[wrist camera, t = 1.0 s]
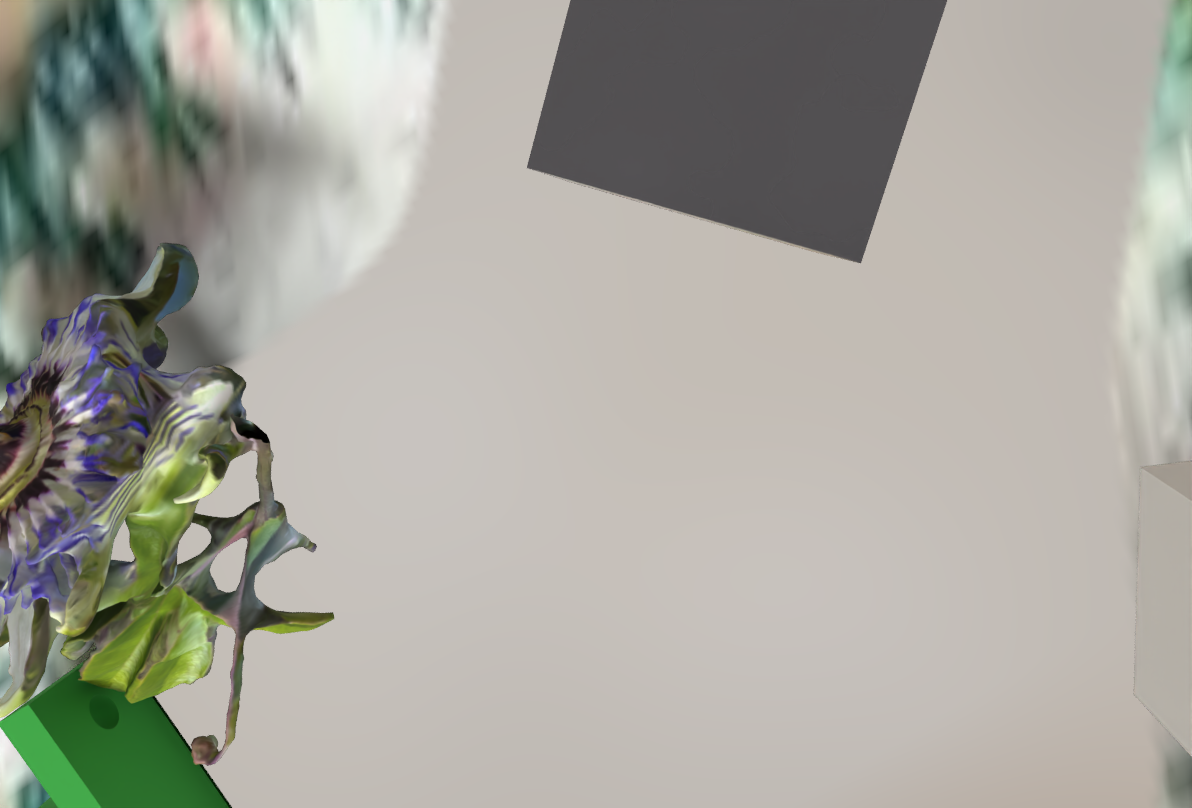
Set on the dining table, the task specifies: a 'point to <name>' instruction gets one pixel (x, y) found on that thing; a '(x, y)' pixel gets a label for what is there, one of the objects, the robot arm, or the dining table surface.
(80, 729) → the pipe clamp
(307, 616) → the passion flower
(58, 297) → the dining table surface
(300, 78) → the dining table surface
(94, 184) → the dining table surface
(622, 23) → the dark grey cube
